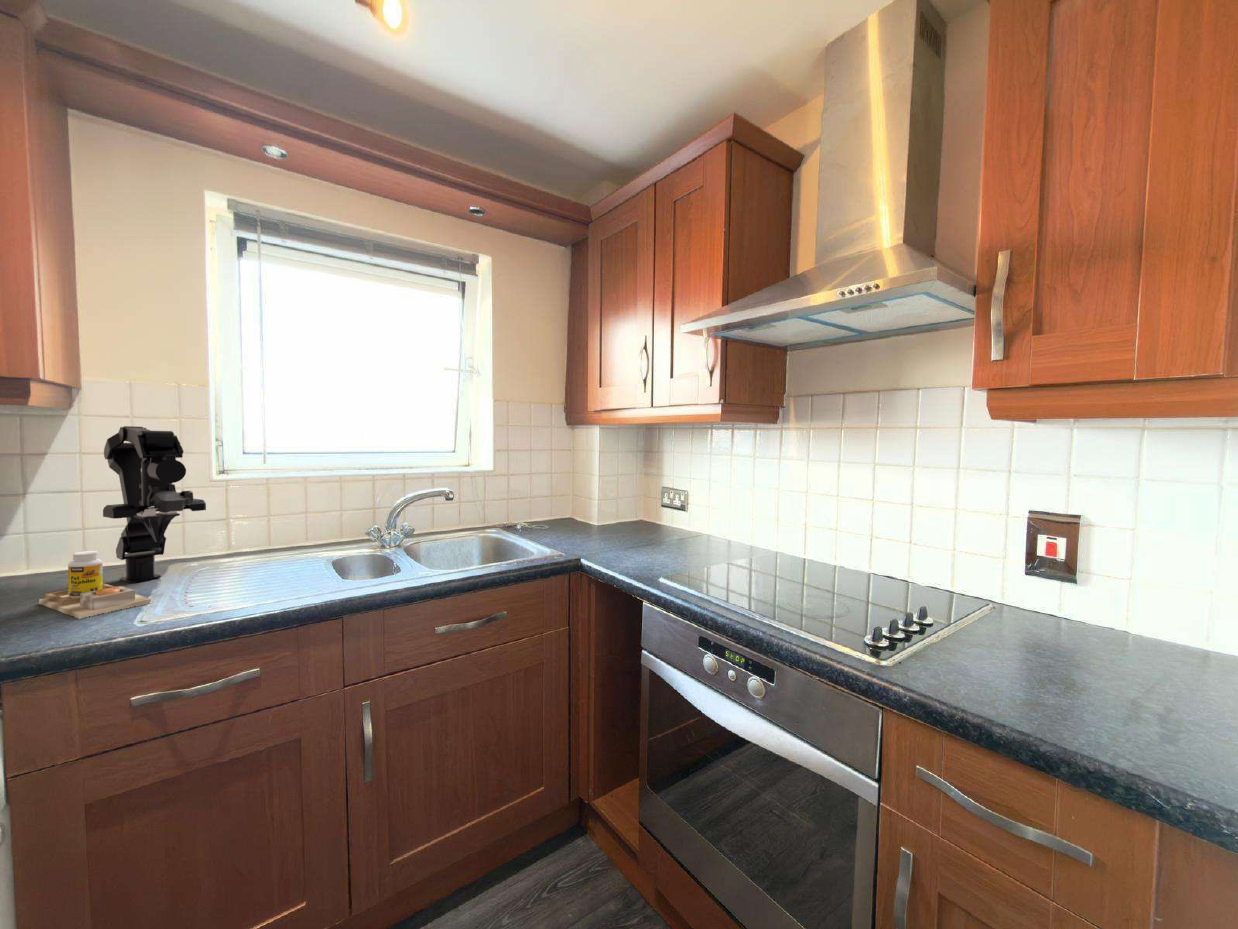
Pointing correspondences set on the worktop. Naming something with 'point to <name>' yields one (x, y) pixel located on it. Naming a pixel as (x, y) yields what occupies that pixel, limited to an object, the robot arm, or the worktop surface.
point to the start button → (107, 591)
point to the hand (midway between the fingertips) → (157, 541)
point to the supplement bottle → (84, 573)
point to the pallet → (93, 602)
